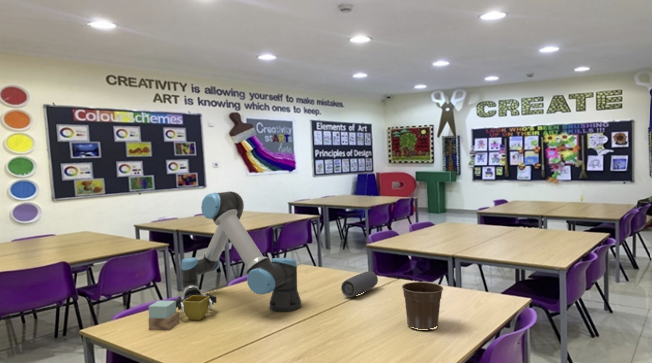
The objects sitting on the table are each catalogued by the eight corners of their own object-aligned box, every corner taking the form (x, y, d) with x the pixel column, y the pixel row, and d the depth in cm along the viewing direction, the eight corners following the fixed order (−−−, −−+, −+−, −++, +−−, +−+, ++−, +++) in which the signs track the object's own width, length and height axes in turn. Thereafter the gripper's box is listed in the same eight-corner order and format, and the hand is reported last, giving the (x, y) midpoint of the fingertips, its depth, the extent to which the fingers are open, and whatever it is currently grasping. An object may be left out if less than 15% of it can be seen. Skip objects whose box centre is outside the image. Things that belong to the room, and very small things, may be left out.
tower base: (179, 323, 192) (179, 311, 192) (169, 330, 183) (169, 318, 183) (159, 322, 193) (159, 311, 193) (148, 330, 184) (148, 318, 184)
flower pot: (201, 322, 192) (200, 301, 191) (182, 321, 194) (182, 301, 193) (210, 315, 200) (209, 295, 200) (192, 314, 202) (192, 295, 202)
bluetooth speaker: (363, 287, 240) (363, 269, 240) (379, 289, 235) (378, 271, 234) (340, 298, 222) (339, 278, 221) (356, 301, 216) (355, 280, 216)
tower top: (176, 312, 192) (175, 300, 191) (167, 318, 184) (166, 306, 183) (158, 312, 193) (158, 300, 193) (149, 318, 185) (148, 306, 185)
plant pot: (445, 321, 185) (444, 282, 184) (442, 335, 170) (441, 293, 169) (406, 318, 190) (405, 280, 190) (399, 331, 175) (398, 290, 175)
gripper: (217, 299, 218) (225, 312, 198) (166, 305, 209) (168, 320, 189) (217, 283, 218) (224, 295, 198) (165, 290, 209) (168, 302, 189)
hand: (197, 307), depth 193 cm, fingers closed on flower pot, 11 cm apart
